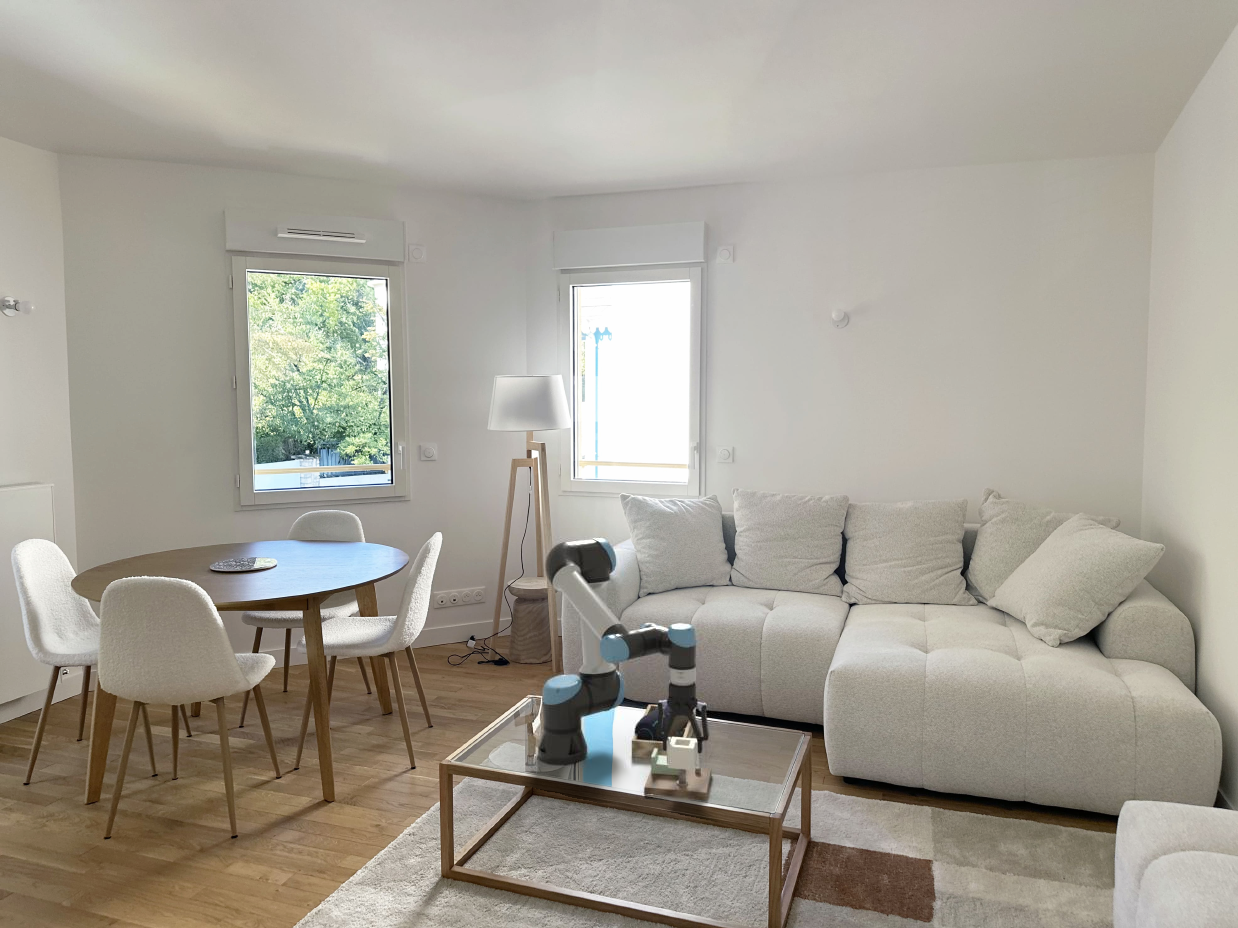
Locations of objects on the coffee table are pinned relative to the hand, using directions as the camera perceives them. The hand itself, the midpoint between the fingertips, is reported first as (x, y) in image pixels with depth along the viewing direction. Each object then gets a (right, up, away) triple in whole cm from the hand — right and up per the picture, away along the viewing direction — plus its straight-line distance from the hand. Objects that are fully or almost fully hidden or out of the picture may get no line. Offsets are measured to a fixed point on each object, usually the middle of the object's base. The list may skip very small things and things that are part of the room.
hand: (682, 762), depth 232 cm
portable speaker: (-3, -5, +37) cm, 37 cm away
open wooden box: (-3, -5, +37) cm, 37 cm away
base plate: (-1, -8, +4) cm, 9 cm away
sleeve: (0, 0, 0) cm, 0 cm away
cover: (-4, -5, +9) cm, 11 cm away
